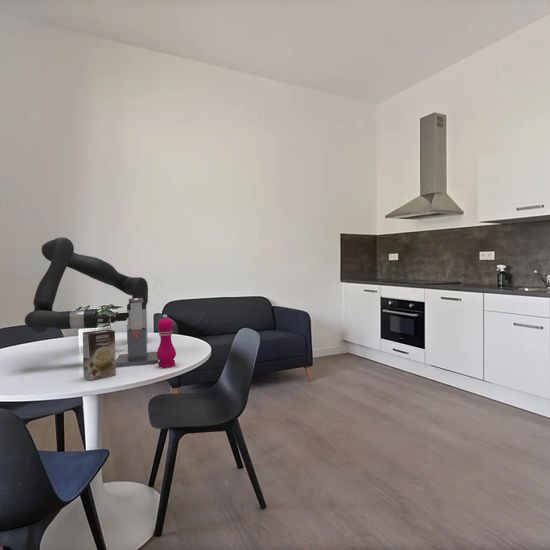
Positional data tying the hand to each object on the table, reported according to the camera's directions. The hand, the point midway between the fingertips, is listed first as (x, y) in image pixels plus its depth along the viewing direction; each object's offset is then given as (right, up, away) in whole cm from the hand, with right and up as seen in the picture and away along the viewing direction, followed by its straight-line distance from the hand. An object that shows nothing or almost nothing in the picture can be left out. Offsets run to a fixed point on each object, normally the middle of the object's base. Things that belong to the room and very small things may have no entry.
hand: (127, 316), depth 160 cm
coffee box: (-2, -19, -20) cm, 28 cm away
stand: (+4, -18, +1) cm, 19 cm away
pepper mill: (+18, -18, -8) cm, 27 cm away
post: (+4, -16, +1) cm, 17 cm away
